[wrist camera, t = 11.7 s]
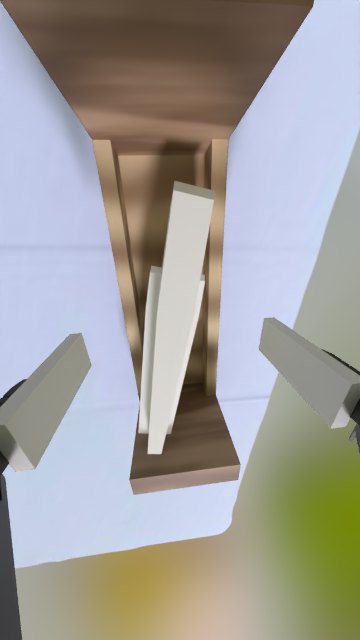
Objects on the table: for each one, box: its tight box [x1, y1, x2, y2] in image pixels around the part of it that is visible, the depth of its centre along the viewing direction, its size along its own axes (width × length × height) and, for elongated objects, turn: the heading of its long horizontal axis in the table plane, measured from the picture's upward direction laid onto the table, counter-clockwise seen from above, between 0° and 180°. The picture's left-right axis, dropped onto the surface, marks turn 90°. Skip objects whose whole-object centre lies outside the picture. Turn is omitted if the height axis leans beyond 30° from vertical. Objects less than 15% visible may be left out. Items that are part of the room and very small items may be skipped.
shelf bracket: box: [138, 181, 214, 454], centre depth 22 cm, size 6×25×13 cm, turn 170°
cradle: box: [0, 0, 314, 495], centre depth 19 cm, size 37×12×14 cm, turn 2°
